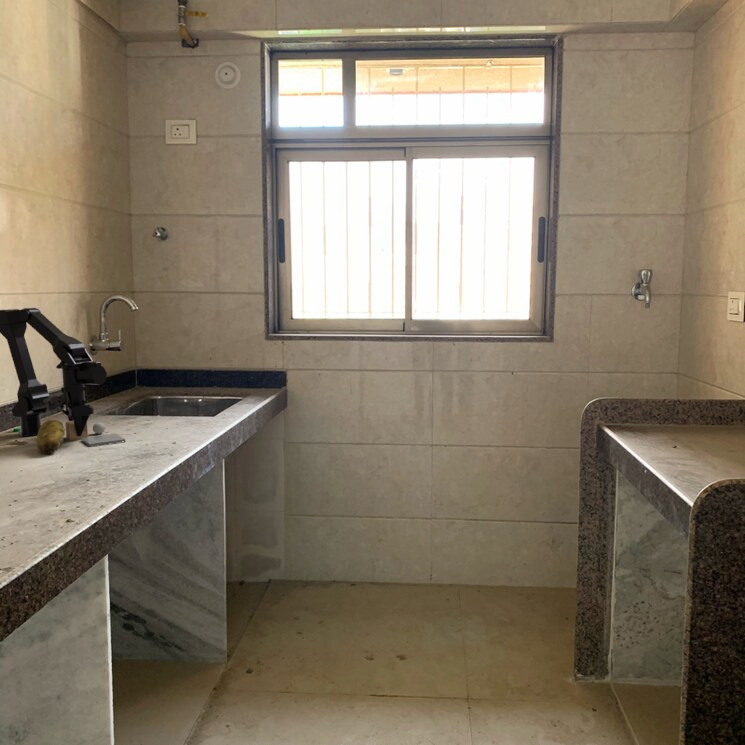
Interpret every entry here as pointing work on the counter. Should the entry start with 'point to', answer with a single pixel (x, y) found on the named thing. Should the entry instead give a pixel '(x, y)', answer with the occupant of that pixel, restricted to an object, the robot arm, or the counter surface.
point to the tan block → (74, 431)
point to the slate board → (102, 439)
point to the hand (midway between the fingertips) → (76, 434)
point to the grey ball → (98, 428)
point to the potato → (50, 436)
